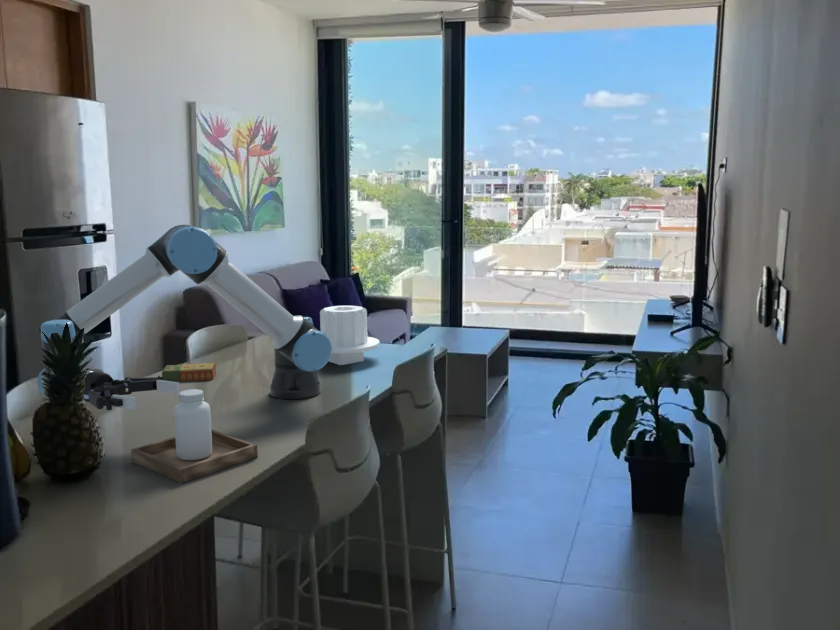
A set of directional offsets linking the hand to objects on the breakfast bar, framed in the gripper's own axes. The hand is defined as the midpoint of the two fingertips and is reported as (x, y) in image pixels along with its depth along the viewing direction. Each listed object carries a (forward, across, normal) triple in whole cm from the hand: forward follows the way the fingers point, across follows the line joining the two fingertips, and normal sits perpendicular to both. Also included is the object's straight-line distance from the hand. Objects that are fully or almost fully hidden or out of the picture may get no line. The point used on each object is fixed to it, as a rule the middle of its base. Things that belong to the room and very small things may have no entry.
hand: (157, 395), depth 176 cm
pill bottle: (+10, 0, -13) cm, 17 cm away
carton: (-45, -59, -15) cm, 75 cm away
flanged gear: (-10, -100, -16) cm, 101 cm away
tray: (+10, 0, -14) cm, 17 cm away
